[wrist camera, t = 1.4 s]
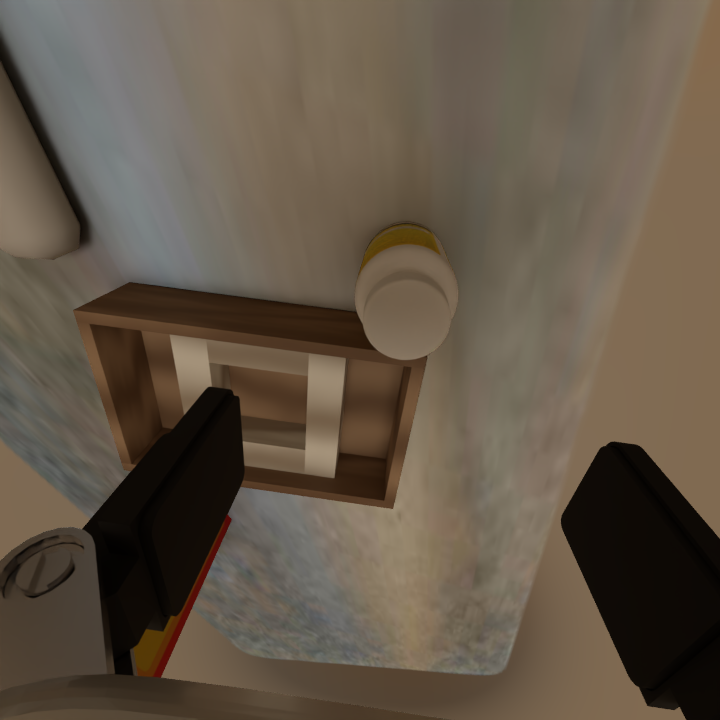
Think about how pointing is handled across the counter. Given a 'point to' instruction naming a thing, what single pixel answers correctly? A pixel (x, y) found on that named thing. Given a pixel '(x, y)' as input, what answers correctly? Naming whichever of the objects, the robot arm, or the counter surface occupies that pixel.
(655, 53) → the counter surface
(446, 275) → the supplement bottle
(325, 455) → the crate
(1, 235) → the tube
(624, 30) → the counter surface
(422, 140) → the counter surface
